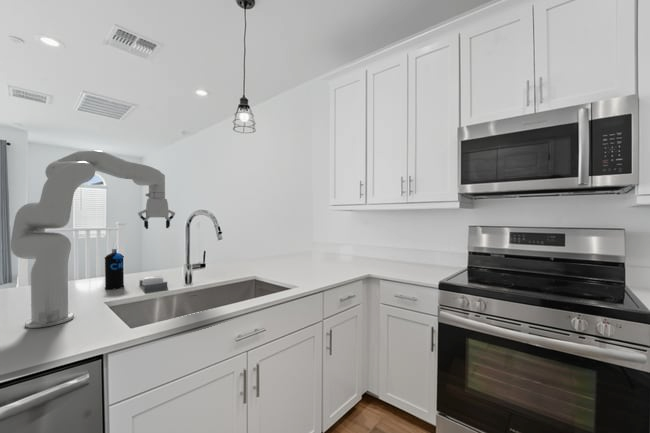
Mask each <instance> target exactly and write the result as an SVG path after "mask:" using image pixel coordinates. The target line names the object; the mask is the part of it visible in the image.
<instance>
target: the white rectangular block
mask: <svg viewBox="0 0 650 433" xmlns="http://www.w3.org/2000/svg"><path fill="white" fill-rule="evenodd" d="M142 280H143V285H145V284H153V283H160V282H164V276H162V275H159V276H158V275H157V276H146V277H144V278H142Z"/></svg>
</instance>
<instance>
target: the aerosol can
mask: <svg viewBox="0 0 650 433" xmlns="http://www.w3.org/2000/svg"><path fill="white" fill-rule="evenodd" d="M117 250H118V249H117V248H112V249H111V253H110V254H107V255H106V256H105V257H104V274H105V276H104V277H105V278H104V283H105V284H104V285H105V287H104V290H108V291H110V290H119V289H122V288H124V287H125V285H124V284H125V283H124V282H125V281H124V278H125V277H124V273H125V272H124V257H125V256H124V255H123V254H121V253H120V252H117Z"/></svg>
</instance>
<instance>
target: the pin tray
mask: <svg viewBox="0 0 650 433" xmlns="http://www.w3.org/2000/svg"><path fill="white" fill-rule="evenodd" d="M138 286H139V288H140V289H141V290H142V291H143V293H144V294H146V293H152V292H159V291H160V292H161V291H166V290H169V287H168V281H163V282H160V283H153V284H145V285H143V279H140V280H139V285H138Z"/></svg>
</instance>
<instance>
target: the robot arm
mask: <svg viewBox="0 0 650 433" xmlns="http://www.w3.org/2000/svg"><path fill="white" fill-rule="evenodd" d="M96 172H100V173H103V174H106V175H109V176H111V177H116V178H118V179H124V180H132V181H133V183H134V184H135V185H136V186H137V185H138V186H142V187H143V186H148V192H147V193H145V197H147V199H146V204H145V205H146V206H145V209H144V210H141V211H139V212H138V213H137V215H138V216H139V218H140V219H141V220H142V221H143V225H144V226H143V227H144V228H145V229H146V230H148V229H149V221H148V220H149V219H150V218H164V219H165V220H166V221H165V229H169V227H171V222H170V221H171V220H172V219H173V218H174V217H175V215H176V212H174V211H173V210H170V209H169V203H168V199H167V198H166V175H165V174H164V173H162V172H161V171H160V170H159V169H156V168H154V167H151V165H146V164H141V163H137V162H133V161H130V160H124V159H122V158H120V157H118V156H115V155H113V154H111V153H107V152H105V151H103V150H97V149H96V150H93V149H91V150H79V151H76V152H73V153H71V154H67V155H66V156H64V157H61V158H59V159H57V160H55V161H52V162H51V163H49V164H48V165H47V166H46V168H45V177H46V178H47V179H46V181H45V182H44V184H43V186H42V190H41V195H40V198H39V201H38V202H30V203H29V202H28V203H26V204H23V205H22V206H21V207H20V208H19V209H18V210H17V212H16V214H15V216H14V221H13V227H12V232H11V238H10V249H11V252H12V254H13V255H14V256H16V257H18V258H20V259H26V260H34V263H33V265H32V268H31V271H30V300H31V301H30V302H31V303H30V306H31V314H30V315H31V318H30V319H28V320H27V321H26V322H25V323H24V326H25V327H26V328H27V329H28V328H29V329H37V328H46V327H51V326H56V325H57V326H58V325H60V324H64V323H66V322H69V321H71V320H72V319H73V318H74V317H75V314H74V313H73V312H70V311H69V282H68V281H69V275H68V274H69V273H68V271H69V267H68V266H69V258H70V254H71V249H72V248H71V247H72V242H71V240H70V238H69V237H67V235H64V234H62V233H59V232H51V231H49V232H48V231H47V232H46V229H49V230H50V229H52V230H53V229H55V230H56V229H61V228H64V227H66V226H67V225H68V224H69V222H70V218H71V212H72V207H73V199H74V195H75V192H76V190H77V189H78V188H79V187H81V185H84V184H85V183H87V182H90V181H91V180H93V178H94V176H95V175H96ZM143 214H145V217H144V215H143ZM169 214H171V215H169Z"/></svg>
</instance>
